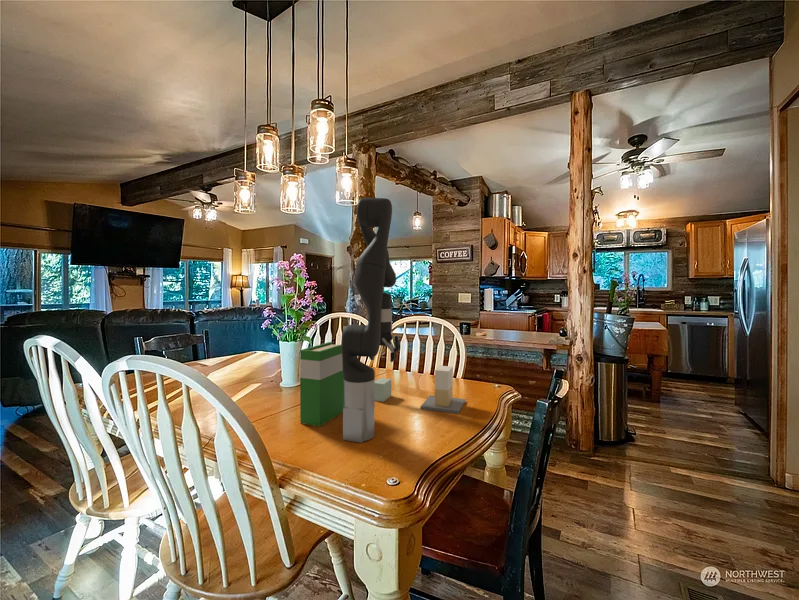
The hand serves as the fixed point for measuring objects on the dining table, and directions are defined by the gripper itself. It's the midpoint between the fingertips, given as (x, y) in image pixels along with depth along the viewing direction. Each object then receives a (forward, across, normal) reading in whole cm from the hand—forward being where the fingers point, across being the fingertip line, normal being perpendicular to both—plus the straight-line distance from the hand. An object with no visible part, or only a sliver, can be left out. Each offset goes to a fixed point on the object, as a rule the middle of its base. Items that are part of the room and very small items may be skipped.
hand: (382, 360), depth 146 cm
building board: (+15, +25, 0) cm, 29 cm away
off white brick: (+8, +25, 0) cm, 26 cm away
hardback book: (+15, -11, -25) cm, 31 cm away
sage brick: (+15, 0, 0) cm, 15 cm away
